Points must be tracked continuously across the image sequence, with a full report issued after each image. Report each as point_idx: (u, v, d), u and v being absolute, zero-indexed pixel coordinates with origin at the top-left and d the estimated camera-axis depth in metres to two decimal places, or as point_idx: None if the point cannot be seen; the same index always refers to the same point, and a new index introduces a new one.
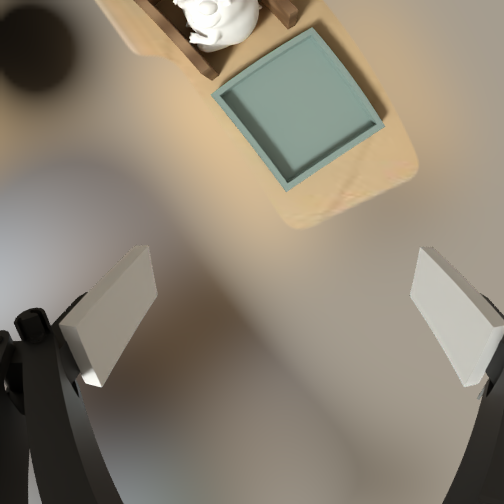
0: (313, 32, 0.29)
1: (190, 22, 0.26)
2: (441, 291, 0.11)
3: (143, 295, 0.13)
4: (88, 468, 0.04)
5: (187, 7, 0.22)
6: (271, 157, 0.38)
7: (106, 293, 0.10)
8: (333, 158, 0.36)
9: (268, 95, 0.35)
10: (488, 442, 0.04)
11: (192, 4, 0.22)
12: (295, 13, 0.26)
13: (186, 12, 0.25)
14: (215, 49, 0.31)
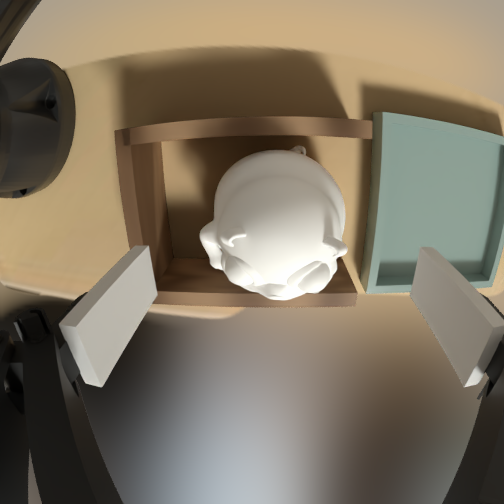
0: (390, 117, 0.20)
1: None
2: (441, 291, 0.11)
3: (143, 295, 0.13)
4: (88, 468, 0.04)
5: (284, 299, 0.17)
6: None
7: (106, 293, 0.10)
8: None
9: (411, 229, 0.25)
10: (488, 442, 0.04)
11: (287, 292, 0.16)
12: None
13: None
14: None
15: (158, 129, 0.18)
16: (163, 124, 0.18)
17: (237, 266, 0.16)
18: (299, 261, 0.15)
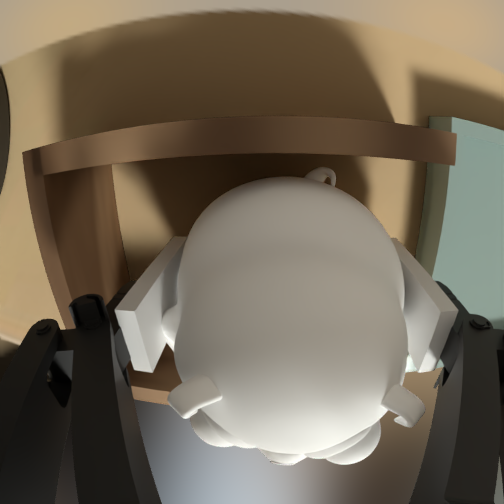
0: (462, 126, 0.11)
1: None
2: None
3: None
4: (132, 462, 0.05)
5: None
6: None
7: (157, 280, 0.11)
8: None
9: (467, 285, 0.16)
10: (448, 436, 0.05)
11: (301, 457, 0.08)
12: None
13: None
14: None
15: (78, 146, 0.09)
16: (85, 138, 0.09)
17: (210, 429, 0.07)
18: (331, 441, 0.06)
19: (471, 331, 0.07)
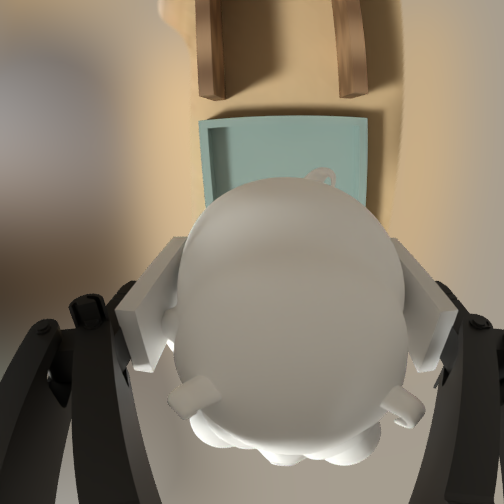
0: (363, 124, 0.25)
1: None
2: None
3: None
4: (133, 462, 0.05)
5: None
6: None
7: (158, 280, 0.11)
8: None
9: (261, 159, 0.29)
10: (449, 436, 0.05)
11: (301, 458, 0.08)
12: (360, 93, 0.21)
13: None
14: None
15: None
16: None
17: (209, 430, 0.07)
18: (331, 442, 0.06)
19: (471, 331, 0.07)
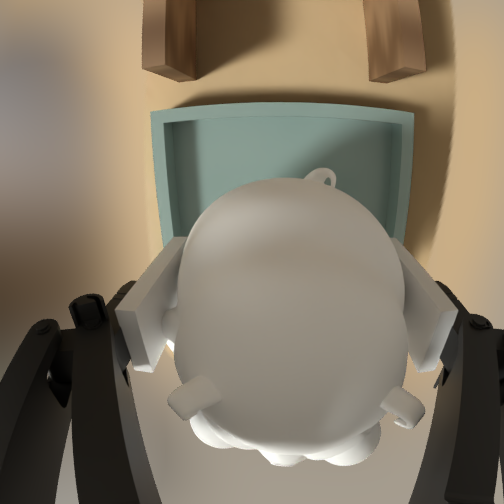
0: (408, 123, 0.15)
1: None
2: None
3: None
4: (132, 462, 0.05)
5: None
6: None
7: (158, 280, 0.11)
8: None
9: (248, 172, 0.19)
10: (449, 436, 0.05)
11: (301, 459, 0.08)
12: (411, 71, 0.12)
13: None
14: None
15: None
16: None
17: (210, 431, 0.07)
18: (331, 443, 0.06)
19: (471, 331, 0.07)
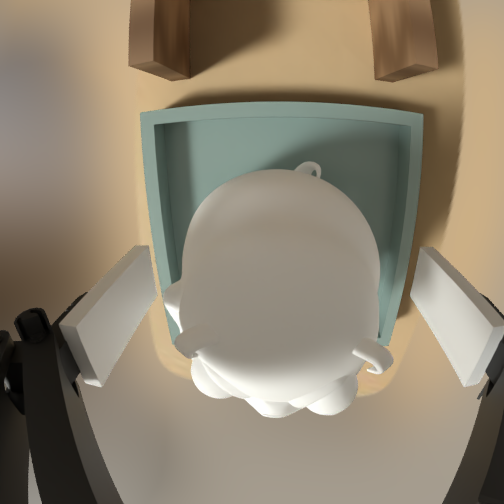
0: (417, 125, 0.14)
1: None
2: (441, 291, 0.11)
3: (143, 295, 0.13)
4: (88, 468, 0.04)
5: None
6: None
7: (106, 293, 0.10)
8: None
9: None
10: (488, 442, 0.04)
11: (288, 410, 0.09)
12: (422, 69, 0.10)
13: None
14: None
15: None
16: None
17: (208, 378, 0.09)
18: (311, 384, 0.08)
19: None
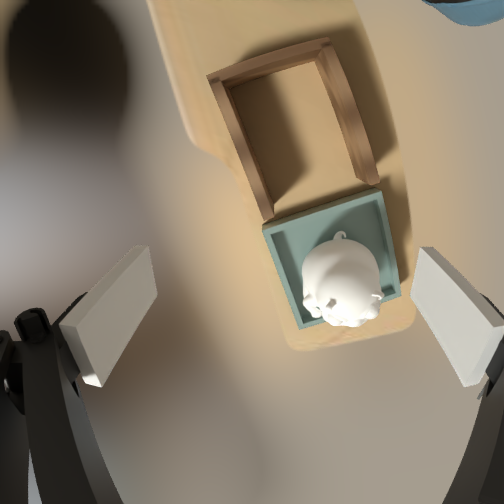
0: (380, 197, 0.35)
1: None
2: (441, 291, 0.11)
3: (143, 295, 0.13)
4: (88, 468, 0.04)
5: (360, 325, 0.31)
6: (296, 296, 0.42)
7: (106, 293, 0.10)
8: None
9: (313, 242, 0.39)
10: (489, 442, 0.04)
11: (361, 321, 0.30)
12: None
13: None
14: None
15: (337, 63, 0.26)
16: (340, 66, 0.26)
17: (335, 318, 0.30)
18: (364, 307, 0.29)
19: None
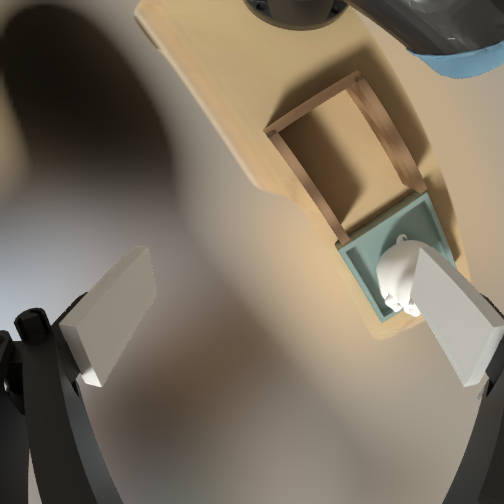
0: (427, 197, 0.37)
1: None
2: (441, 291, 0.11)
3: (143, 295, 0.13)
4: (88, 468, 0.04)
5: None
6: (373, 295, 0.46)
7: (106, 293, 0.10)
8: None
9: (380, 248, 0.42)
10: (488, 442, 0.04)
11: None
12: None
13: None
14: None
15: (372, 94, 0.29)
16: (375, 95, 0.30)
17: (416, 310, 0.33)
18: None
19: None
